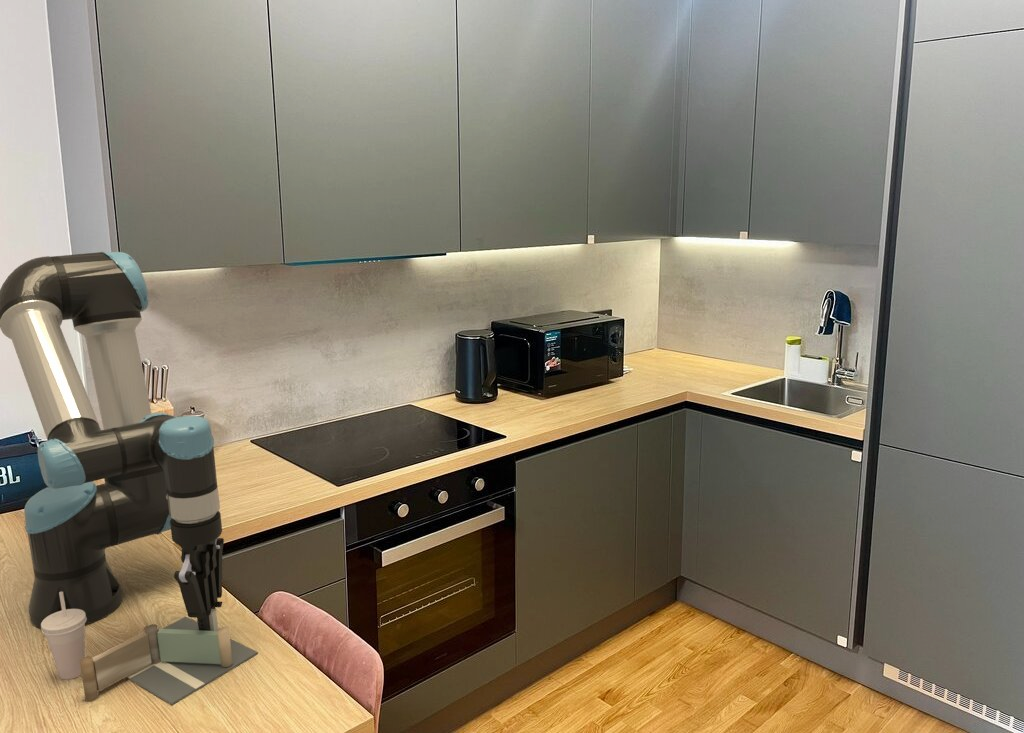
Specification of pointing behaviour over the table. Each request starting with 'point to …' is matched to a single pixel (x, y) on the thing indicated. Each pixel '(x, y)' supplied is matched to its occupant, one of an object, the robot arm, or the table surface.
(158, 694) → the card
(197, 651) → the gate panel
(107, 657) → the base
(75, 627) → the smoothie
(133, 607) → the table surface
